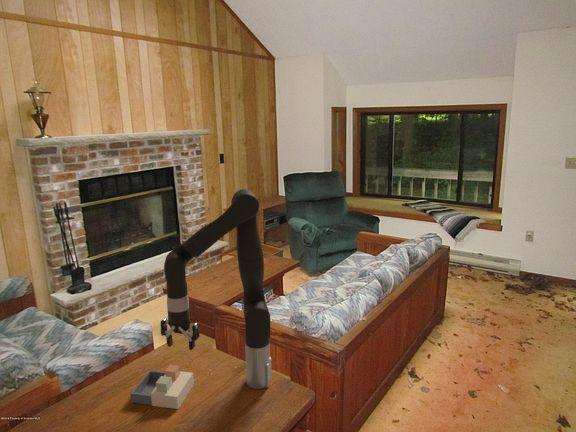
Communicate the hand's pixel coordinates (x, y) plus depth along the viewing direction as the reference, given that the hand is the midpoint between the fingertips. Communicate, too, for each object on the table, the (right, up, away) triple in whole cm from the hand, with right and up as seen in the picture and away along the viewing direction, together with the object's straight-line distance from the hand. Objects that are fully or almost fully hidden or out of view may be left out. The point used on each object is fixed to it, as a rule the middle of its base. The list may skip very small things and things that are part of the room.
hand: (180, 347), depth 153 cm
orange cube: (-4, -13, +5) cm, 14 cm away
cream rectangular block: (-3, -18, +3) cm, 19 cm away
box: (-12, -18, +4) cm, 22 cm away
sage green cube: (-5, -14, -2) cm, 15 cm away
